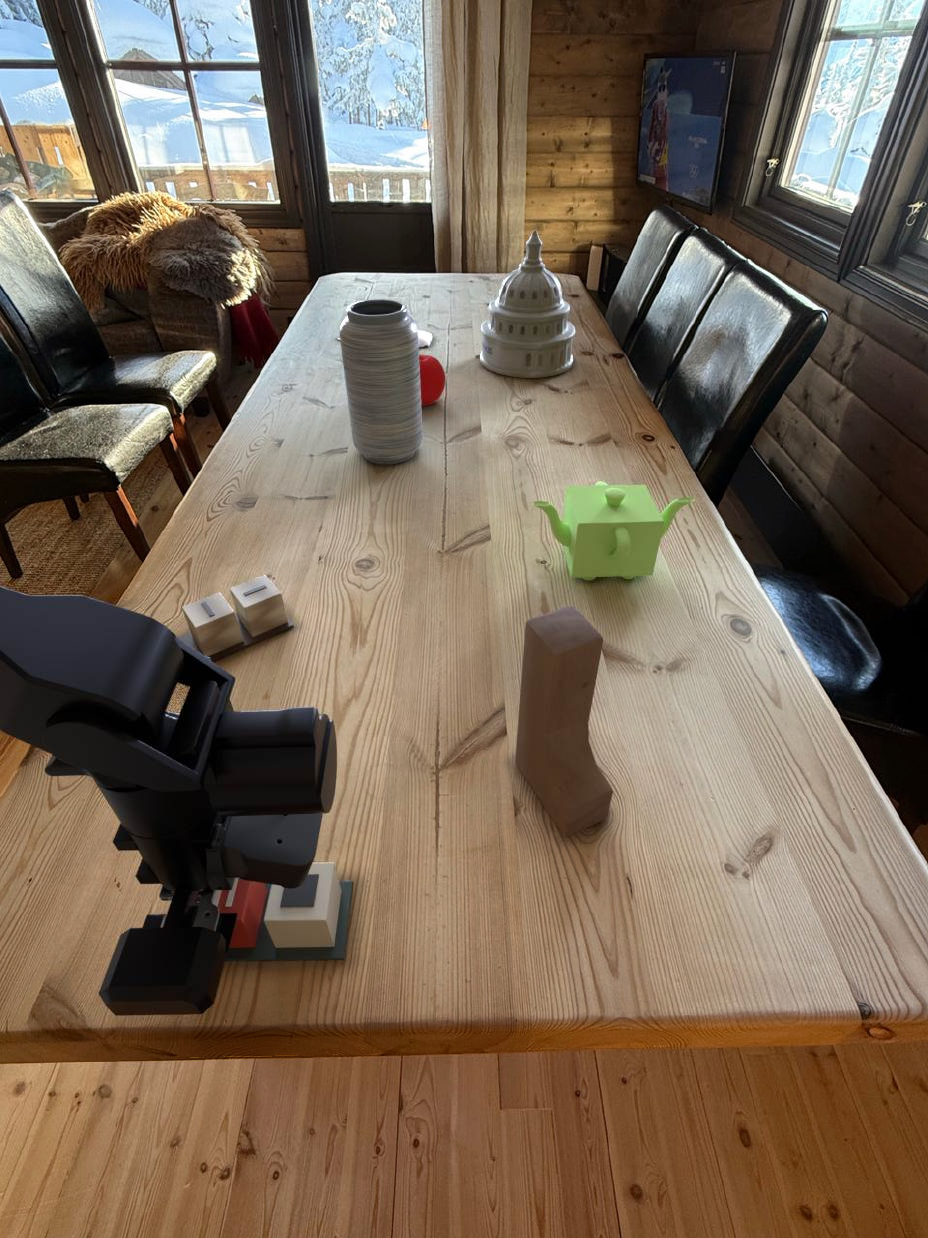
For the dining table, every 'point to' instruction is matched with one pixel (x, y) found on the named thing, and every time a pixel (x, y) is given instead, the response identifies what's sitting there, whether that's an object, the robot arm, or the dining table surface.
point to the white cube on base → (302, 920)
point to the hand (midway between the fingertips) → (229, 914)
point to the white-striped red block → (243, 909)
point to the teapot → (610, 529)
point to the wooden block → (561, 719)
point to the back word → (236, 619)
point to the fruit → (431, 379)
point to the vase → (382, 380)
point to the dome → (528, 322)
